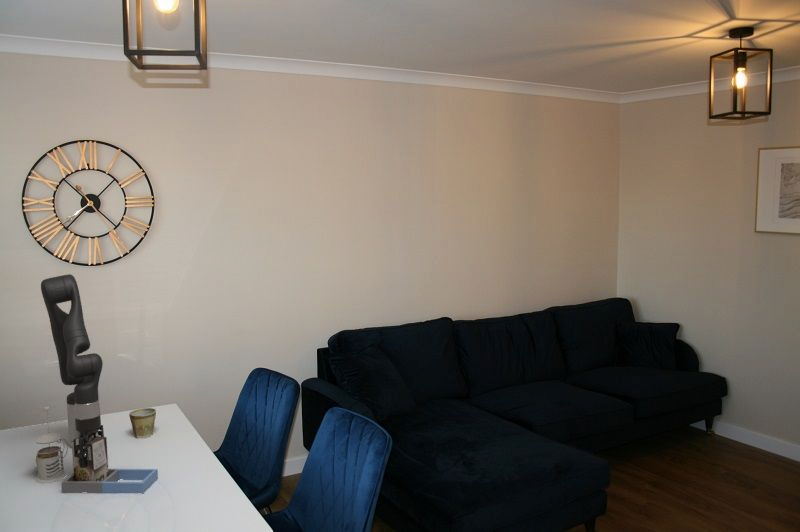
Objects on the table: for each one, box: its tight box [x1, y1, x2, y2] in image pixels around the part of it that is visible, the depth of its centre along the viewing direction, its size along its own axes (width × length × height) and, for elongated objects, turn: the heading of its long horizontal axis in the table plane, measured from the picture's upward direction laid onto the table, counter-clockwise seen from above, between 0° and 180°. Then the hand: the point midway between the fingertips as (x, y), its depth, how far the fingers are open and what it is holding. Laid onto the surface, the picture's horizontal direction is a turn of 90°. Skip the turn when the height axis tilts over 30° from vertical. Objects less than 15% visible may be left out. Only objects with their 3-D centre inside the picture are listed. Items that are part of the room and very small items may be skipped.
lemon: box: [35, 452, 52, 467], centre depth 223 cm, size 6×6×8 cm
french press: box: [34, 405, 69, 484], centre depth 217 cm, size 10×12×25 cm
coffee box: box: [71, 436, 109, 482], centre depth 209 cm, size 9×6×16 cm
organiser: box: [60, 468, 159, 495], centre depth 210 cm, size 11×27×4 cm, turn 87°
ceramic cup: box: [128, 407, 157, 439], centre depth 257 cm, size 13×10×10 cm
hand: (90, 462), depth 209 cm, fingers open, 8 cm apart
